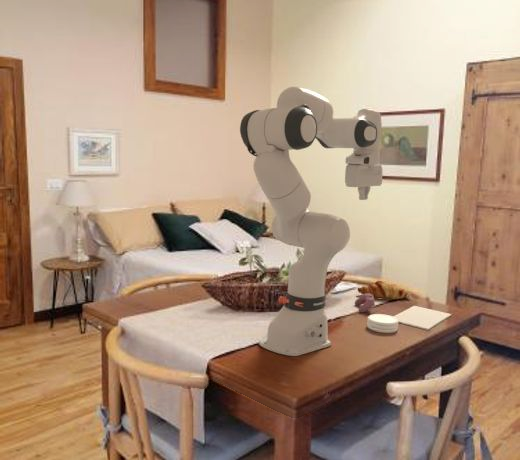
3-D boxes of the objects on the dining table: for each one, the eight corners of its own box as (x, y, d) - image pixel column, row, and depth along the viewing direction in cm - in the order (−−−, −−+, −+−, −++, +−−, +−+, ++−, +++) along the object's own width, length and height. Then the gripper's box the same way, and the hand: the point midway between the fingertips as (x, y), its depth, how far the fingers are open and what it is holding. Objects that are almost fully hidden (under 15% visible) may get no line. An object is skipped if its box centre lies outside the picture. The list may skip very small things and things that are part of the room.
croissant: (408, 305, 209) (408, 286, 212) (413, 300, 200) (413, 280, 203) (355, 300, 211) (356, 281, 214) (359, 295, 202) (359, 275, 204)
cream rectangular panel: (428, 330, 169) (428, 328, 169) (388, 320, 178) (388, 318, 178) (451, 315, 186) (451, 314, 186) (414, 307, 195) (414, 305, 195)
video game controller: (368, 317, 185) (378, 301, 184) (358, 311, 185) (367, 295, 184) (363, 309, 195) (373, 293, 194) (353, 303, 195) (362, 287, 194)
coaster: (398, 325, 173) (399, 315, 172) (396, 335, 164) (397, 324, 163) (368, 321, 176) (369, 311, 175) (365, 331, 167) (366, 320, 166)
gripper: (372, 159, 183) (369, 197, 185) (342, 158, 168) (340, 200, 170) (388, 159, 179) (385, 199, 181) (360, 158, 164) (357, 202, 166)
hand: (363, 199), depth 175 cm, fingers closed
